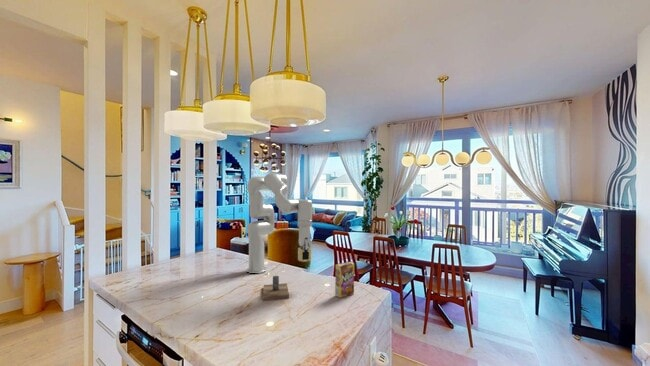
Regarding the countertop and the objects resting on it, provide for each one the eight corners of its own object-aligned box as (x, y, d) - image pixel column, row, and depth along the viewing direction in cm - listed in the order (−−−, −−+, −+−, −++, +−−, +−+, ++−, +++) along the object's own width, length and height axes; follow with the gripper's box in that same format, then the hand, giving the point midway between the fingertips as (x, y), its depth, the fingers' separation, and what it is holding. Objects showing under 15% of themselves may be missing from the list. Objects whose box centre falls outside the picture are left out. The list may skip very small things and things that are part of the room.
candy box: (340, 298, 123) (340, 266, 123) (334, 295, 126) (334, 263, 127) (354, 294, 127) (354, 263, 128) (349, 291, 131) (349, 261, 131)
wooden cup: (297, 258, 138) (297, 247, 138) (309, 257, 139) (309, 246, 139) (298, 261, 131) (299, 249, 131) (311, 261, 133) (311, 249, 133)
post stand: (263, 287, 136) (263, 272, 136) (286, 286, 139) (286, 270, 139) (263, 300, 120) (263, 283, 121) (289, 298, 123) (289, 281, 123)
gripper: (296, 221, 143) (295, 253, 143) (299, 225, 126) (299, 262, 126) (309, 221, 145) (309, 253, 145) (314, 225, 128) (314, 261, 128)
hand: (304, 257), depth 135 cm, fingers closed on wooden cup, 6 cm apart
